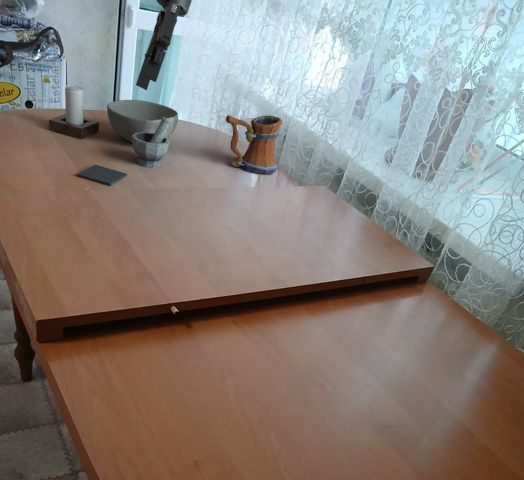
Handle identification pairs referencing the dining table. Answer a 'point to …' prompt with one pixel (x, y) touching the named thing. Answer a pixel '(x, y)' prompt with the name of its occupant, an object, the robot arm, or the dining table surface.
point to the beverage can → (74, 104)
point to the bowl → (139, 117)
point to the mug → (256, 144)
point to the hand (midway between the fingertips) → (145, 83)
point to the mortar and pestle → (152, 145)
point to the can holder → (74, 127)
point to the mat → (102, 175)
